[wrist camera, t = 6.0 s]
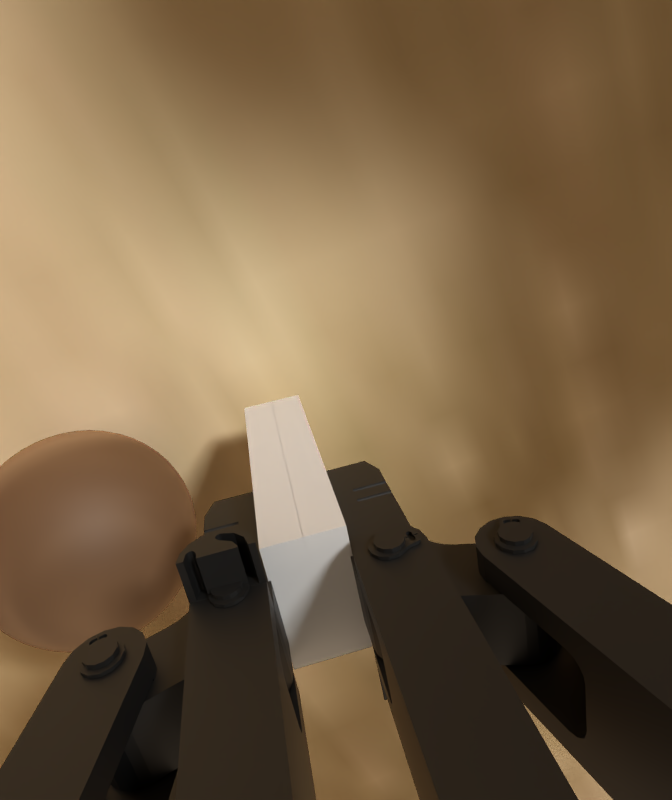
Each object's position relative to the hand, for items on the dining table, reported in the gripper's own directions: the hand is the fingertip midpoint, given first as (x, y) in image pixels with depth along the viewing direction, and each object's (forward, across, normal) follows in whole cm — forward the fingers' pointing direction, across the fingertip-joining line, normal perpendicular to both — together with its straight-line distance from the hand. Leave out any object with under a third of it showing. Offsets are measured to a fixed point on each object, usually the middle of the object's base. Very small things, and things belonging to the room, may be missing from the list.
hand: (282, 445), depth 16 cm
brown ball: (-1, -5, -1) cm, 6 cm away
